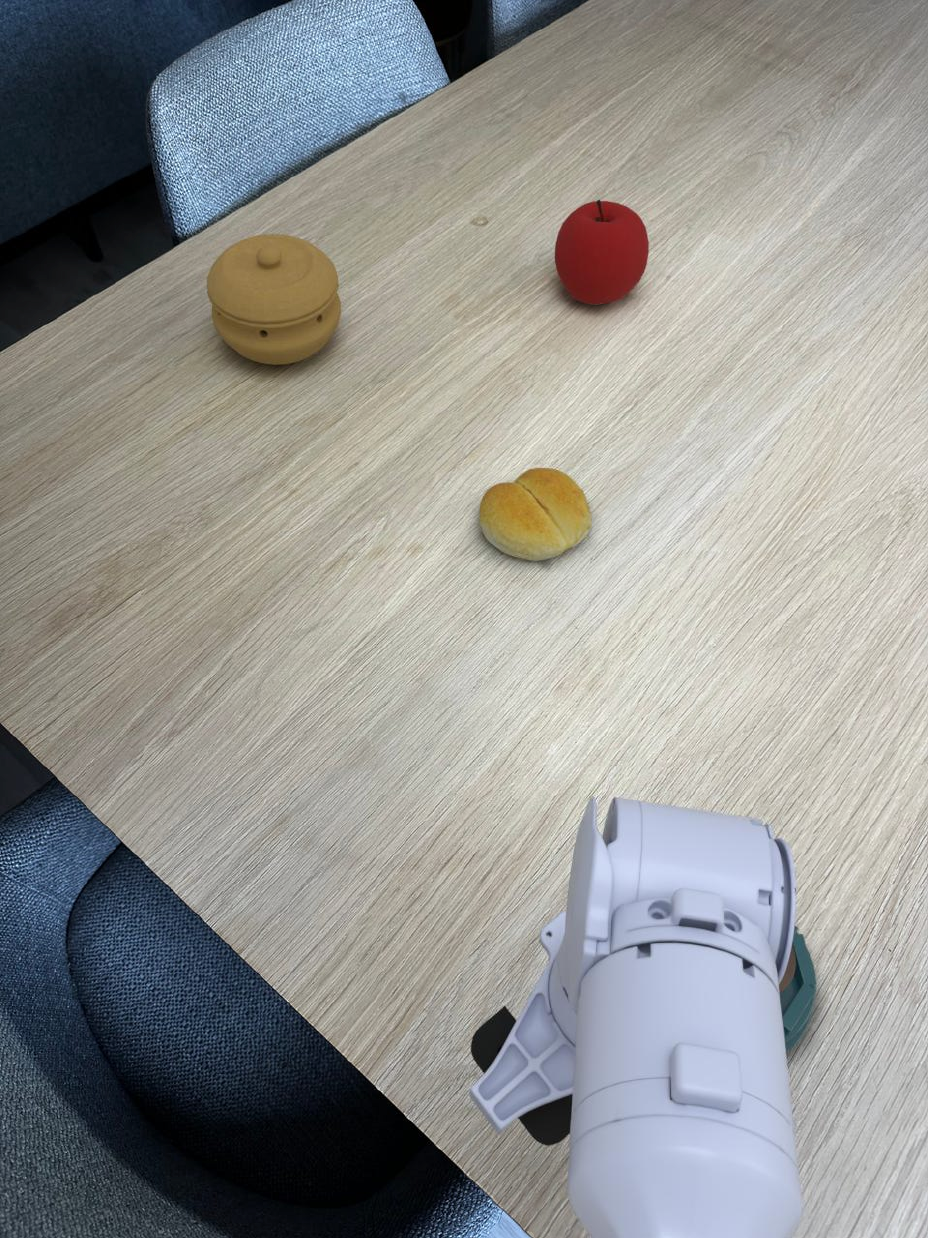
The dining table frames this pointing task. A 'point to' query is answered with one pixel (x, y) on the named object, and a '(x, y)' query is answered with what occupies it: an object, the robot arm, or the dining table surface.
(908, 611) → the dining table surface
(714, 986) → the robot arm
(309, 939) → the dining table surface
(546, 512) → the bread roll
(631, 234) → the apple
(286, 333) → the pot
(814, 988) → the stand
